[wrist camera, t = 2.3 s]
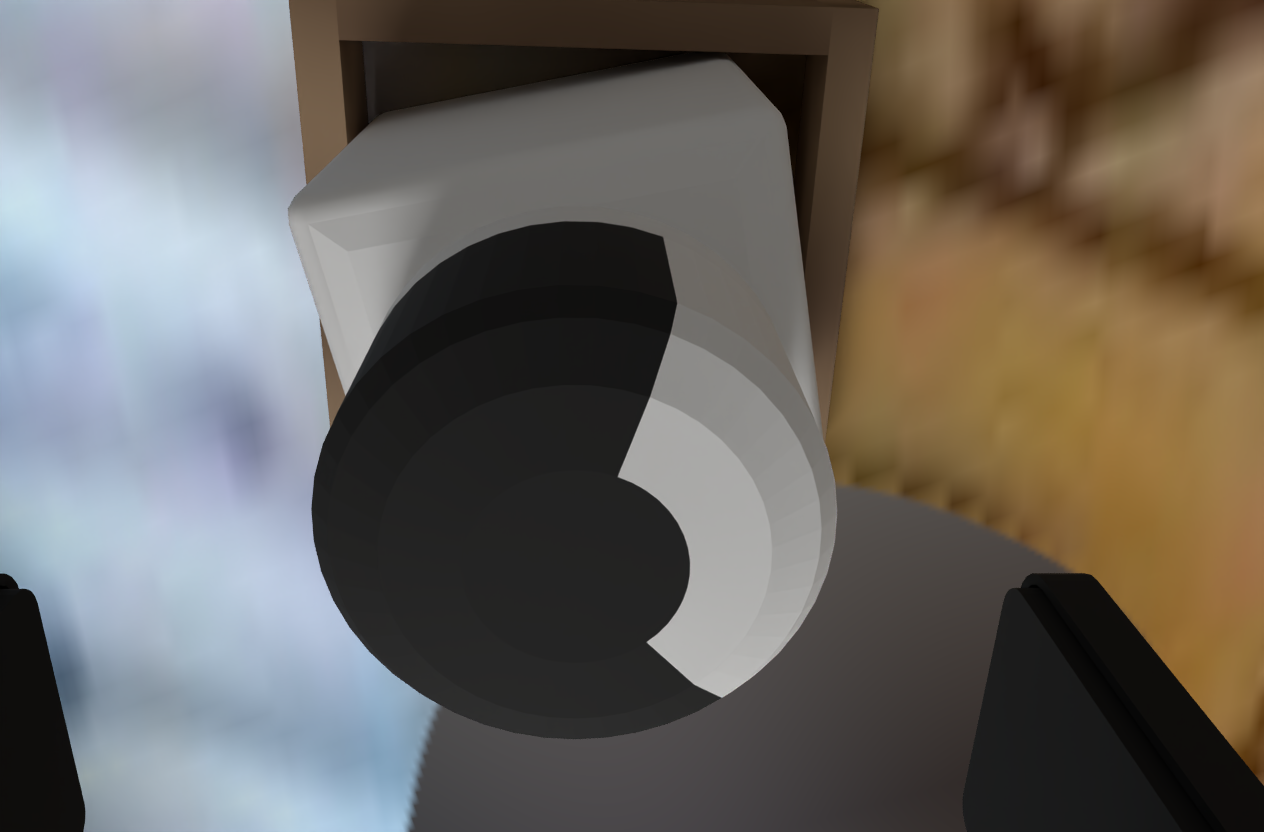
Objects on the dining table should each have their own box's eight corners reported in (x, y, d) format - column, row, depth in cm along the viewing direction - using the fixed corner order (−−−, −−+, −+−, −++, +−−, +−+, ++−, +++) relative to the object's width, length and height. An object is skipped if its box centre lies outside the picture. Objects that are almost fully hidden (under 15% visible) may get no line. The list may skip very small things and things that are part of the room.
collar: (315, -19, 20) (287, -12, 18) (853, -1, 20) (879, 8, 19) (356, 462, 24) (337, 507, 23) (799, 468, 25) (816, 512, 23)
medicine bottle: (460, 430, 24) (353, 854, 13) (370, 112, 21) (137, 328, 10) (772, 373, 24) (922, 762, 13) (726, 42, 21) (873, 190, 10)
